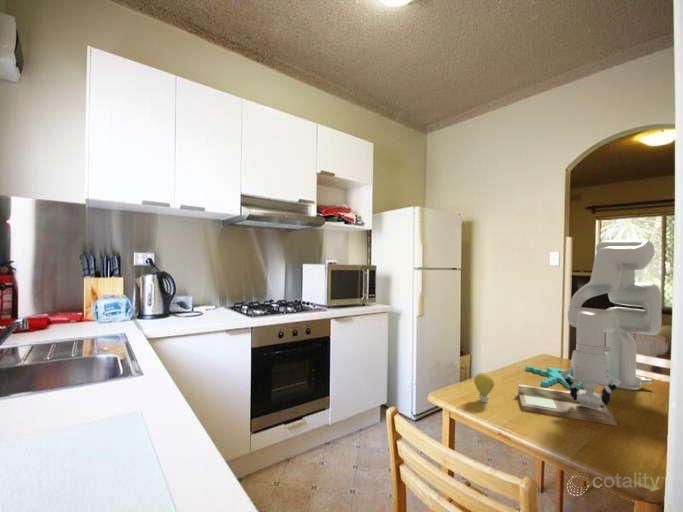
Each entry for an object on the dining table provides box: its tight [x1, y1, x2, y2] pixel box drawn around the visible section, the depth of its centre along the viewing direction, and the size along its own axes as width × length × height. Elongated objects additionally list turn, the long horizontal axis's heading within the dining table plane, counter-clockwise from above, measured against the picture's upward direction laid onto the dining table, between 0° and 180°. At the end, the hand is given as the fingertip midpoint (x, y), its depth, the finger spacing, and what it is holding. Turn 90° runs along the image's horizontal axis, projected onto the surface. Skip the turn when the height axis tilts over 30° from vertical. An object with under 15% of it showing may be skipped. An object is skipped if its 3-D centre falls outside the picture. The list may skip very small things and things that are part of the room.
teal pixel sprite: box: [525, 365, 584, 390], centre depth 140 cm, size 20×2×20 cm
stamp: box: [577, 383, 602, 409], centre depth 110 cm, size 9×7×8 cm
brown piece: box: [517, 383, 618, 427], centre depth 113 cm, size 26×13×4 cm, turn 67°
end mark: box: [523, 393, 557, 409], centre depth 116 cm, size 9×10×1 cm
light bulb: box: [473, 372, 495, 403], centre depth 119 cm, size 7×7×10 cm
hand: (589, 400), depth 110 cm, fingers closed on stamp, 7 cm apart
